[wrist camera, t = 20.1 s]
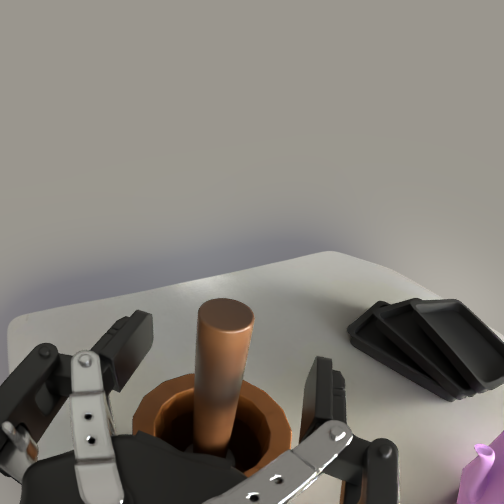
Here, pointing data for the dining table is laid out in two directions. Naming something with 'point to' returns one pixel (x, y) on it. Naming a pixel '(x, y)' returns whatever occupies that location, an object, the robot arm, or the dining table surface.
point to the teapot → (484, 475)
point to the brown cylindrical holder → (244, 427)
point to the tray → (433, 345)
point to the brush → (219, 373)
